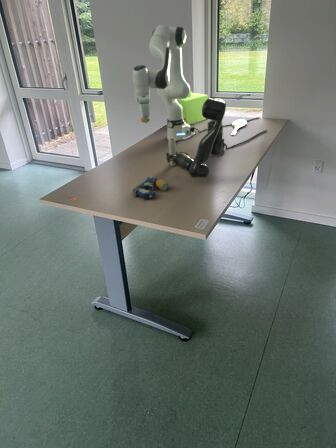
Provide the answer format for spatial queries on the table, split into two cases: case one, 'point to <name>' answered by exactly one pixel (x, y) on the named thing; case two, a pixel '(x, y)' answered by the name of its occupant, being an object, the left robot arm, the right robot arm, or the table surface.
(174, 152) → the pale cream cylinder
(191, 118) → the lime green box
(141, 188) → the spray gun
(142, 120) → the lid
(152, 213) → the table surface
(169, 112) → the left robot arm
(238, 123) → the spoon
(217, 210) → the table surface
